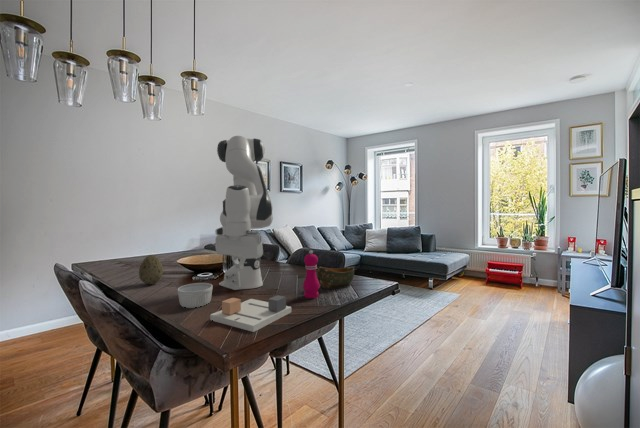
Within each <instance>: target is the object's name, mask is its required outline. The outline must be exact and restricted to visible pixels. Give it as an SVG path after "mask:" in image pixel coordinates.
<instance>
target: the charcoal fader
mask: <svg viewBox="0 0 640 428" xmlns="http://www.w3.org/2000/svg"><path fill="white" fill-rule="evenodd" d="M267 302H268V305H269V310H270V311H275V312H279V311H281V310H283V309H285V308H286V306H287V296H283V295H274V296H272V297H270V298H268V301H267Z"/></svg>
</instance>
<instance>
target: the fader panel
mask: <svg viewBox="0 0 640 428" xmlns="http://www.w3.org/2000/svg"><path fill="white" fill-rule="evenodd" d="M292 309H293V308H292V306H288V305H286V308H285V309H283V310H281V311H279V312H275V311H270V310H269V305H268V301H264V300H260V299H255V298H249V299H247V300H245V301H241V311H238V312H236V313H233V314H231V315H229V314H225V313H222V309H221V310H217V311H216V312H213V313H211V314H210V315H209V317H210V321H212V320H213V322H215V323H219V324H223V325H227V326H230V327H233V328H237V329H241V330H245V331H248V332H252V333H255V332H256V331H259V330H260V329H263V328H264V327H266V326H268V325H270V324H271V323H274V322H276V321H278V320H279V319H281V318H283V317H285V316H287V315H289V314H291V313H292Z"/></svg>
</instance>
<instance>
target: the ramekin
mask: <svg viewBox="0 0 640 428" xmlns="http://www.w3.org/2000/svg"><path fill="white" fill-rule="evenodd" d="M212 293H213V284H212V283H208V282H195V283H194V282H193V283H188V284H185V285H181V286H178V288H177V294H178V295H177V296H178V300H179V305H180V306H181V307H182V308H184V307H186V308H185V309H196V308H195V307H197V308H201V307H200V306H202V307H204V305H205V306H207V305H208V303H209V304H210V302H211V300H212V297H213V294H212ZM206 304H207V305H206Z"/></svg>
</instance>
